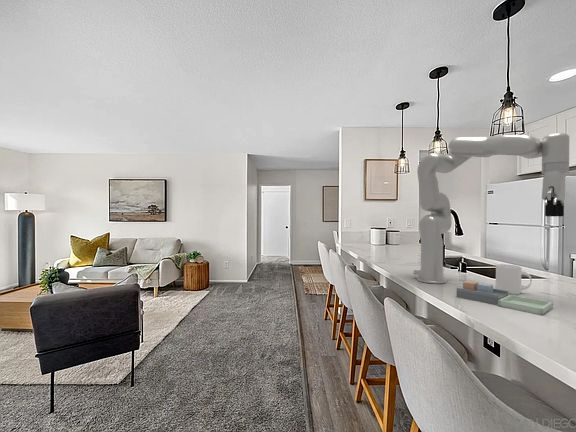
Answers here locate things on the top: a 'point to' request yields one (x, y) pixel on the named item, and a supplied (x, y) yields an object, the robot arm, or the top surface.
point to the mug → (510, 278)
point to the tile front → (485, 288)
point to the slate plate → (482, 295)
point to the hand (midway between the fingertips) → (554, 216)
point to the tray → (525, 304)
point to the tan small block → (470, 285)
